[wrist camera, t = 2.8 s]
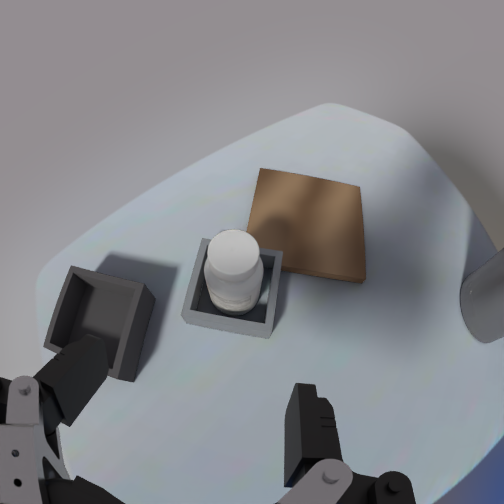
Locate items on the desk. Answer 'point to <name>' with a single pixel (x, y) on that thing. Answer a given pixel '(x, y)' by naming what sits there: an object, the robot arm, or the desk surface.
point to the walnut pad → (310, 224)
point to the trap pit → (103, 317)
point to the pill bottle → (233, 272)
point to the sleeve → (191, 316)
